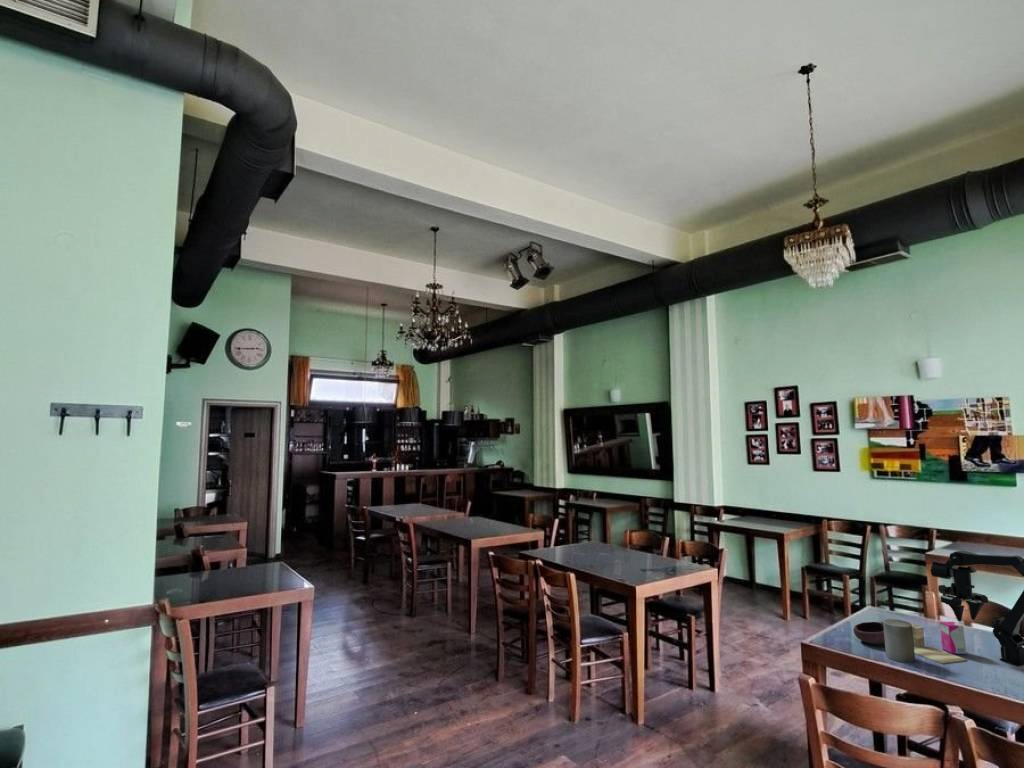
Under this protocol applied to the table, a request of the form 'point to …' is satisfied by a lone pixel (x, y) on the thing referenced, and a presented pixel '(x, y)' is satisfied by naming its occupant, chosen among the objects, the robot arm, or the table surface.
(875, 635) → the bowl
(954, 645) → the supplement box
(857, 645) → the table surface
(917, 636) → the beech block
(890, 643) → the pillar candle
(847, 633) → the table surface
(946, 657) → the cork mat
